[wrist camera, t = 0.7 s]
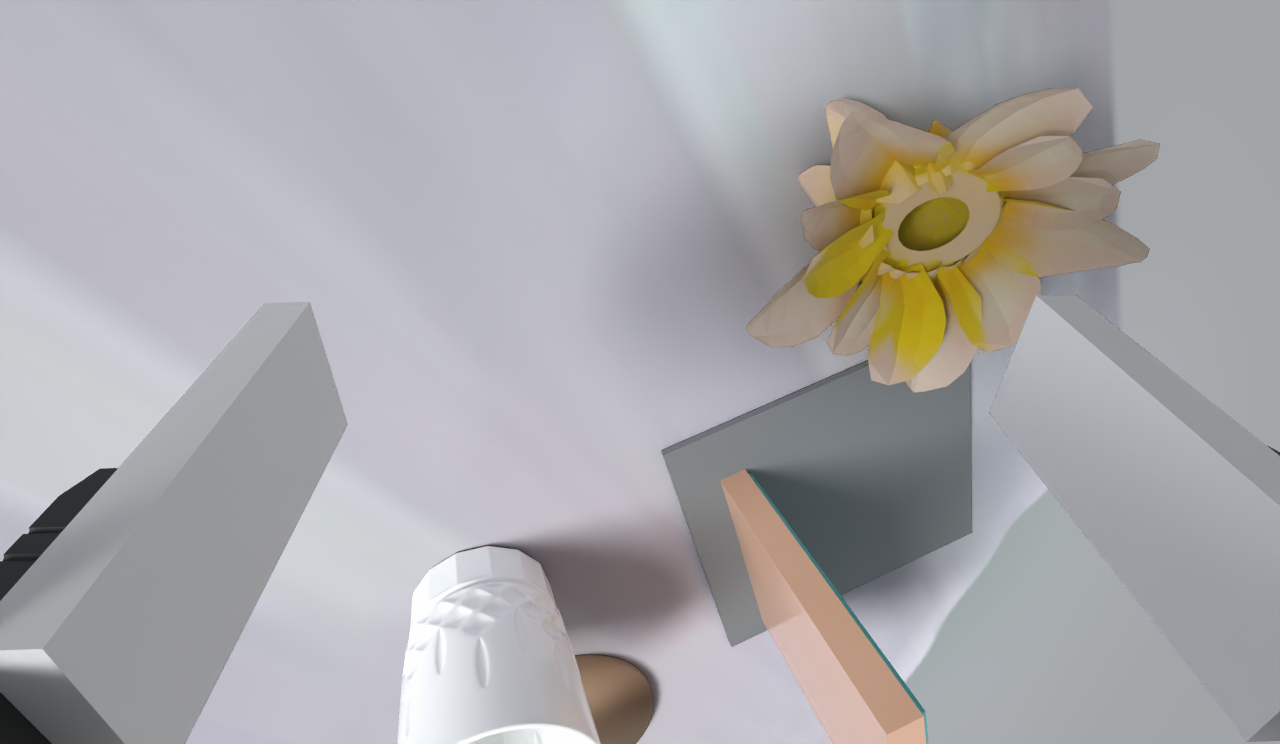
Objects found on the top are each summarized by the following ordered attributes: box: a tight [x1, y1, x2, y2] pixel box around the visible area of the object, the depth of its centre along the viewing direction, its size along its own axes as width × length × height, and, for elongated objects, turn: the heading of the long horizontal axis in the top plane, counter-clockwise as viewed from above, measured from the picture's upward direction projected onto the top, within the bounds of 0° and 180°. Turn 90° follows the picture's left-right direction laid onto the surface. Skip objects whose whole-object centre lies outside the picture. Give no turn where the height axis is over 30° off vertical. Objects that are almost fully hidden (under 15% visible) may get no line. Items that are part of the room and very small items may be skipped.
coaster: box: [575, 655, 654, 744], centre depth 39 cm, size 11×11×1 cm
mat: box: [662, 360, 972, 647], centre depth 37 cm, size 16×17×1 cm
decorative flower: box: [746, 88, 1160, 393], centre depth 25 cm, size 15×11×10 cm
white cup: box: [397, 546, 601, 744], centre depth 29 cm, size 8×8×10 cm
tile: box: [720, 470, 928, 744], centre depth 31 cm, size 12×2×14 cm, turn 17°
